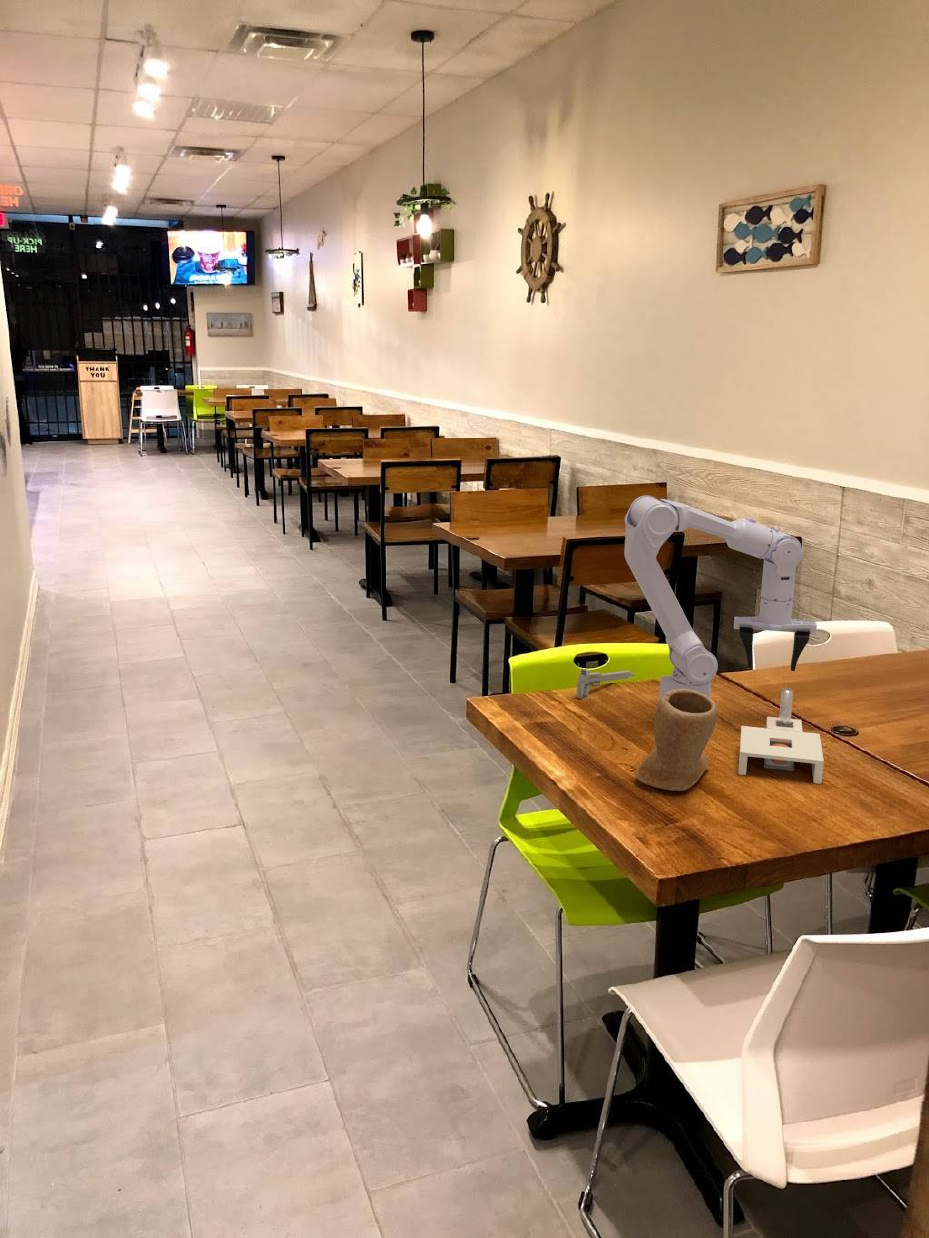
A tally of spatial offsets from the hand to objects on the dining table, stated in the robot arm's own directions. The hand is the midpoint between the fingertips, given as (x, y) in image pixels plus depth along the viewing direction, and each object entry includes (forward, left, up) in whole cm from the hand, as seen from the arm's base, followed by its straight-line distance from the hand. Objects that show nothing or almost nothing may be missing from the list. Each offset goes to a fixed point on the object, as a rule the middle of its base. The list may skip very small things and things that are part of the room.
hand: (771, 667), depth 181 cm
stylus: (+3, -8, -10) cm, 13 cm away
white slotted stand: (+2, -21, -10) cm, 24 cm away
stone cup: (-14, -31, -11) cm, 36 cm away
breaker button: (+2, -21, -10) cm, 24 cm away
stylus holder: (+3, -8, -10) cm, 13 cm away
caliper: (-32, +10, -11) cm, 35 cm away
